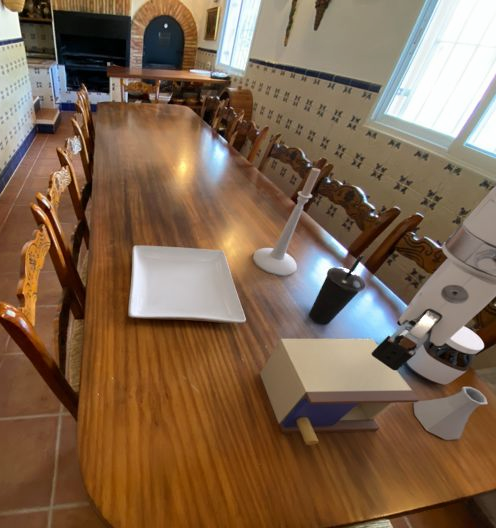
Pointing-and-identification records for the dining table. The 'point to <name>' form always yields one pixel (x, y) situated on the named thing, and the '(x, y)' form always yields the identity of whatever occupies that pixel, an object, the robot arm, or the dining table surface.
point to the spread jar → (445, 357)
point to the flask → (449, 412)
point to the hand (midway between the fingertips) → (396, 344)
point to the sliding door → (315, 417)
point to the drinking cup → (336, 293)
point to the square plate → (183, 285)
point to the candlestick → (285, 237)
